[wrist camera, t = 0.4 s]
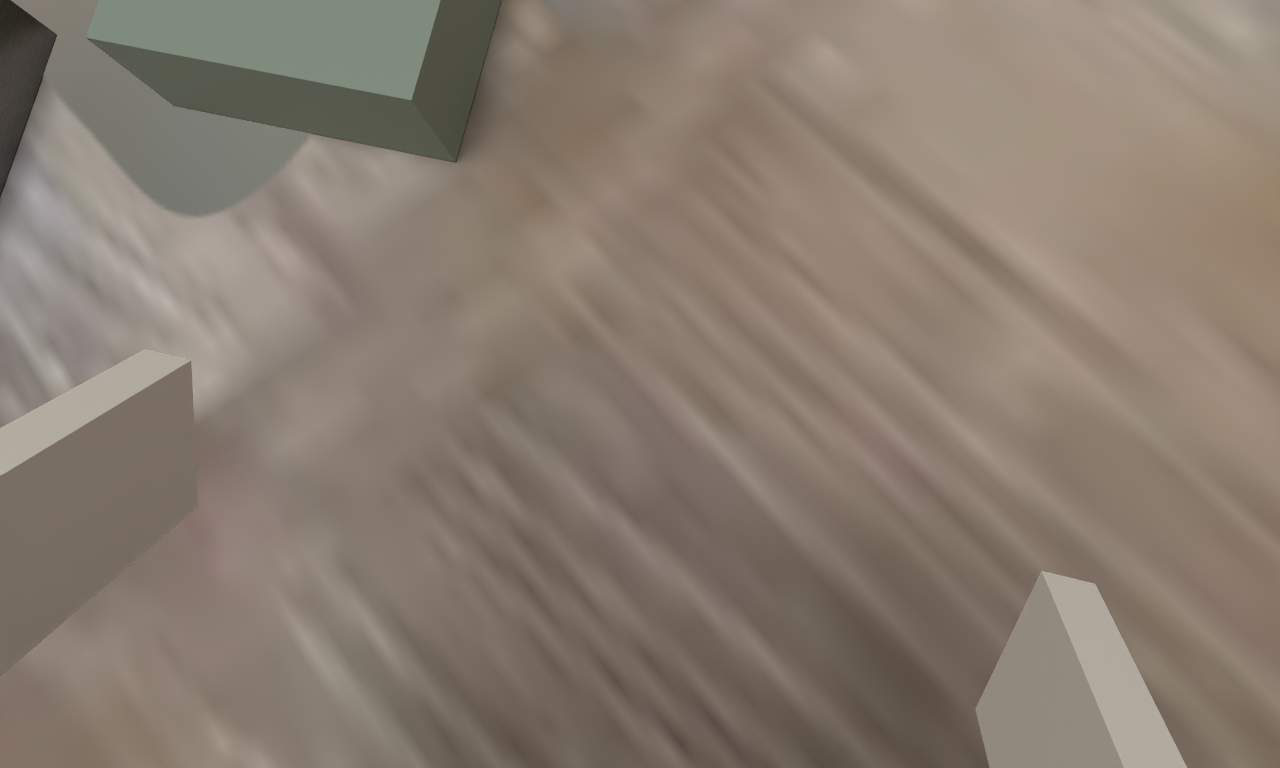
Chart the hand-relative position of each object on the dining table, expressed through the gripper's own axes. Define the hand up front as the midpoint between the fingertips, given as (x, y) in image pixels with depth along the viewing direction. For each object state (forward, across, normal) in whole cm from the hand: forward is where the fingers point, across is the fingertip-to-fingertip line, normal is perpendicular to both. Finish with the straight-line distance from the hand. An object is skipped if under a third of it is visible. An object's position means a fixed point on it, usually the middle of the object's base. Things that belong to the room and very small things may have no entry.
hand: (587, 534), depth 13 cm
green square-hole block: (+25, +16, -5) cm, 30 cm away
